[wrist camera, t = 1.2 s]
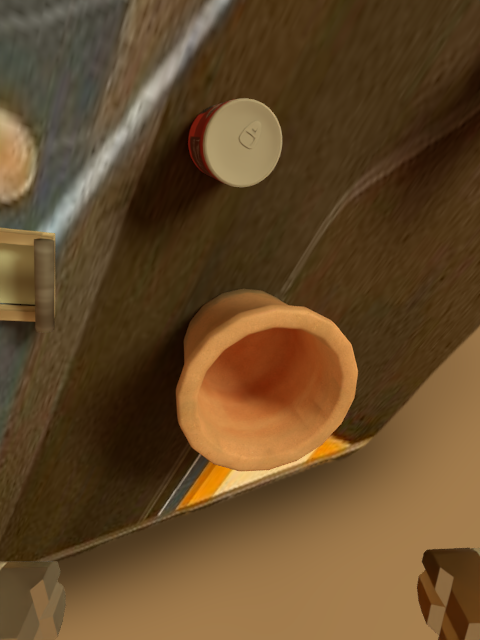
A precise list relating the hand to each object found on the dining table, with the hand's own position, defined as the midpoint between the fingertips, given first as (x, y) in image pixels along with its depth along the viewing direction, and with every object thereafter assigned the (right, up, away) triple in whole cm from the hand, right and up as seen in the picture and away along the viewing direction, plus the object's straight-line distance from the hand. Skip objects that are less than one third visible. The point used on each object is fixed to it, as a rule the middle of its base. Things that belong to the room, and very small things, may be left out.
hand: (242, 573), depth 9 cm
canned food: (-2, +27, +40) cm, 48 cm away
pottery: (0, +2, +52) cm, 52 cm away
